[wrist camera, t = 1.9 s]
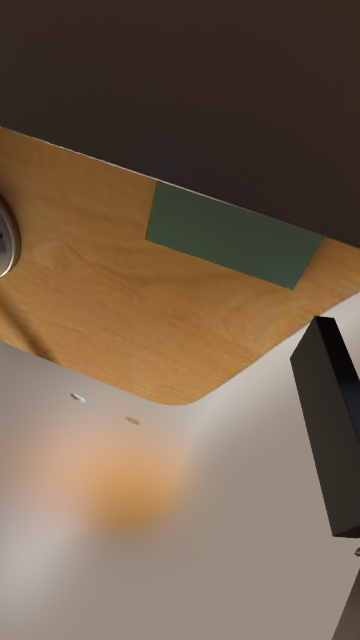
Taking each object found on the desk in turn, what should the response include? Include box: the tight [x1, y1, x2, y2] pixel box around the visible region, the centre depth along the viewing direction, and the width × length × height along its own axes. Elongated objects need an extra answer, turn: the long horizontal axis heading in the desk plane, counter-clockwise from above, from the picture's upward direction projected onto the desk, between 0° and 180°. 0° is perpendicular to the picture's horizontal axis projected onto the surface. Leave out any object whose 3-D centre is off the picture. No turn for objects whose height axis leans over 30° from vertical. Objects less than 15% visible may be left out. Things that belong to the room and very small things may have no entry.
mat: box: [146, 180, 323, 290], centre depth 32 cm, size 13×18×1 cm
